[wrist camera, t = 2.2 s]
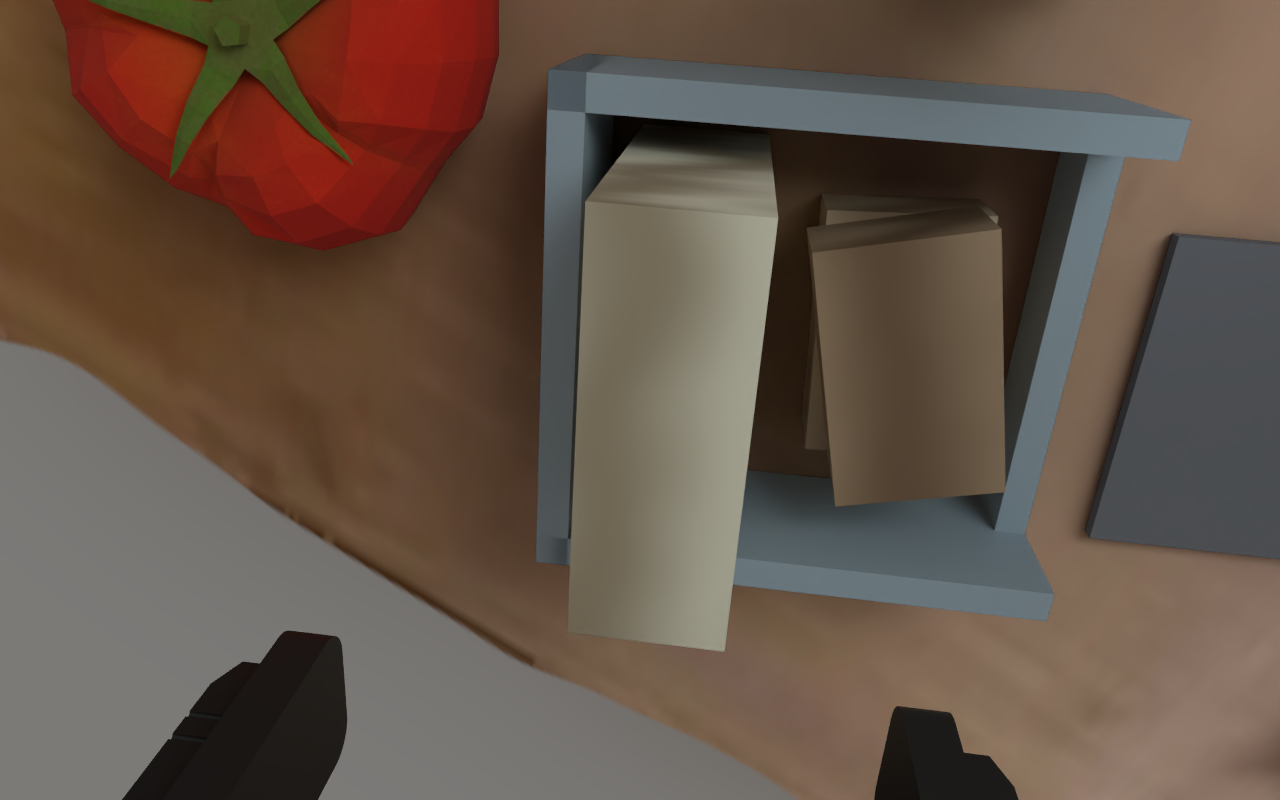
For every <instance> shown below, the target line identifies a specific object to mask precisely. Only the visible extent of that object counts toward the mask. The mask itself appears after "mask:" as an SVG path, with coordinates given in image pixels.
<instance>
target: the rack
mask: <svg viewBox="0 0 1280 800" xmlns="http://www.w3.org/2000/svg"><path fill="white" fill-rule="evenodd" d="M614 115H620V116H632V117H644V118H657V119H669V120H681V121H693V122H706V123H718V124H730V125H742V126H754V127H767V128H779V129H791V130H803V131H816V132H828V133H840V134H852V135H864V136H877V137H889V138H901V139H913V140H926V141H938V142H950V143H962V144H974V145H987V146H999V147H1011V148H1023V149H1035V150H1048V151H1060V155H1059V159H1058V163H1057V167H1056V172H1055V176H1054V180H1053V184H1052V188H1051V193H1050V197H1049V201H1048V205H1047V210H1046V214H1045V218H1044V222H1043V226H1042V231H1041V235H1040V239H1039V243H1038V247H1037V252H1036V256H1035V260H1034V264H1033V269H1032V273H1031V277H1030V281H1029V285H1028V290H1027V294H1026V298H1025V302H1024V306H1023V311H1022V315H1021V319H1020V323H1019V327H1018V332H1017V336H1016V340H1015V344H1014V349H1013V353H1012V357H1011V361H1010V365H1009V370H1008V374H1007V378H1006V382H1005V386H1004V419H1005V488H1006V492H1003V493H991V494H979V495H967V496H955V497H943V498H931V499H919V500H907V501H895V502H883V503H872V504H860V505H848V506H836V507H835V502H834V495H833V489H832V483H831V479H827V478H818V477H808V476H799V475H790V474H781V473H771V472H762V471H753V470H747V474H746V482H745V490H744V498H743V506H742V514H741V522H740V530H739V539H738V547H737V555H736V563H735V571H734V579H733V585H740V586H748V587H757V588H765V589H774V590H783V591H791V592H800V593H808V594H817V595H825V596H834V597H843V598H851V599H860V600H868V601H877V602H886V603H894V604H903V605H911V606H920V607H929V608H937V609H946V610H954V611H963V612H971V613H980V614H989V615H997V616H1006V617H1014V618H1023V619H1032V620H1040V621H1047V619H1048V615H1049V612H1050V608H1051V605H1052V601H1053V598H1054V592H1053V590H1052V588H1051V586H1050V584H1049V582H1048V580H1047V578H1046V576H1045V574H1044V572H1043V570H1042V568H1041V566H1040V564H1039V562H1038V560H1037V558H1036V556H1035V554H1034V552H1033V550H1032V548H1031V546H1030V544H1029V542H1028V540H1027V538H1026V535H1025V532H1026V528H1027V524H1028V520H1029V516H1030V513H1031V509H1032V505H1033V501H1034V498H1035V494H1036V490H1037V486H1038V482H1039V479H1040V475H1041V471H1042V467H1043V464H1044V460H1045V456H1046V452H1047V448H1048V445H1049V441H1050V437H1051V433H1052V430H1053V426H1054V422H1055V418H1056V414H1057V411H1058V407H1059V403H1060V399H1061V395H1062V392H1063V388H1064V384H1065V380H1066V377H1067V373H1068V369H1069V365H1070V361H1071V358H1072V354H1073V350H1074V346H1075V343H1076V339H1077V335H1078V331H1079V327H1080V324H1081V320H1082V316H1083V312H1084V309H1085V305H1086V301H1087V297H1088V293H1089V290H1090V286H1091V282H1092V278H1093V275H1094V271H1095V267H1096V263H1097V259H1098V256H1099V252H1100V248H1101V244H1102V241H1103V237H1104V233H1105V229H1106V225H1107V222H1108V218H1109V214H1110V210H1111V207H1112V203H1113V199H1114V195H1115V191H1116V188H1117V184H1118V180H1119V176H1120V173H1121V169H1122V165H1123V161H1124V157H1133V158H1145V159H1158V160H1170V161H1179V160H1180V156H1181V153H1182V150H1183V146H1184V143H1185V139H1186V136H1187V132H1188V129H1189V125H1190V122H1191V120H1190V119H1186V118H1183V117H1180V116H1177V115H1174V114H1170V113H1167V112H1164V111H1161V110H1158V109H1154V108H1151V107H1148V106H1145V105H1142V104H1138V103H1135V102H1132V101H1129V100H1125V99H1122V98H1119V97H1116V96H1113V95H1109V94H1100V93H1087V92H1074V91H1061V90H1048V89H1035V88H1022V87H1009V86H996V85H983V84H970V83H958V82H945V81H932V80H919V79H906V78H893V77H880V76H867V75H854V74H841V73H828V72H815V71H802V70H789V69H777V68H764V67H751V66H738V65H725V64H712V63H699V62H686V61H673V60H660V59H647V58H634V57H621V56H608V55H596V54H583V55H581V56H579V57H576V58H574V59H572V60H569V61H567V62H564V63H562V64H560V65H557V66H555V67H553V68H550V69H548V99H547V139H546V179H545V219H544V259H543V299H542V339H541V379H540V419H539V459H538V499H537V539H536V562H542V563H551V564H559V565H568V566H570V554H571V531H572V507H573V483H574V459H575V436H576V412H577V388H578V364H579V341H580V317H581V293H582V269H583V246H584V222H585V201H586V200H587V198H588V197H589V196H590V195H591V193H592V192H593V191H594V189H595V188H596V187H597V185H598V184H599V183H600V181H601V180H602V179H603V178H604V176H605V175H606V174H607V172H608V171H609V170H610V168H611V159H612V140H613V121H614Z"/></svg>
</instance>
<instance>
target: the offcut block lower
mask: <svg viewBox="0 0 1280 800" xmlns="http://www.w3.org/2000/svg"><path fill="white" fill-rule="evenodd" d="M977 205H978V206H979V207H980V208H981V209H982V210H983V211H984V212H985V213H986V214H987V215H988V216H989V217H990V218H991V219H992V220H993V221H994V222H995V223H996V224H997V222H998V216H997V215H996V214H995V213H994V212H993V211H992V210H991V209H990V208H989V207H988V206H987V205H986V204H985V203H984V202H983V201H981V200H980V199H964V198H935V197H907V196H879V195H851V194H822V196H821V207H820V218H819V226H822V225H830V224H838V223H845V222H853V221H861V220H869V219H876V218H884V217H892V216H899V215H907V214H915V213H923V212H930V211H938V210H946V209H953V208H961V207H969V206H977ZM802 425H803V434H804V443H805V449H814V450H827V444H826V433H825V423H824V412H823V401H822V390H821V379H820V369H819V358H818V347H817V336H816V325H815V315H814V304H813V296H812V307H811V318H810V330H809V341H808V352H807V363H806V374H805V386H804V397H803V408H802Z"/></svg>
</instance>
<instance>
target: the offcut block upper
mask: <svg viewBox="0 0 1280 800" xmlns="http://www.w3.org/2000/svg"><path fill="white" fill-rule="evenodd" d="M807 239H808V250H809V261H810V271H811V282H812V293H813V304H814V315H815V325H816V336H817V347H818V358H819V369H820V379H821V390H822V401H823V412H824V423H825V433H826V444H827V455H828V464H829V471H830V477H831V483H832V489H833V495H834V502H835V507H836V506H848V505H860V504H872V503H883V502H895V501H907V500H919V499H931V498H943V497H955V496H967V495H979V494H991V493H1003V492H1006V488H1005V419H1004V350H1003V280H1002V229H1001V228H1000V227H999V226H998V225H997V224H996V223H995V222H994V221H993V220H992V219H991V218H990V217H989V216H988V215H987V214H986V213H985V212H984V211H983V210H982V209H981V208H980V207H979V206H978V205H977V206H969V207H961V208H953V209H946V210H938V211H930V212H923V213H915V214H907V215H899V216H892V217H884V218H876V219H869V220H861V221H853V222H845V223H838V224H830V225H822V226H815V227H807Z"/></svg>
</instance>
